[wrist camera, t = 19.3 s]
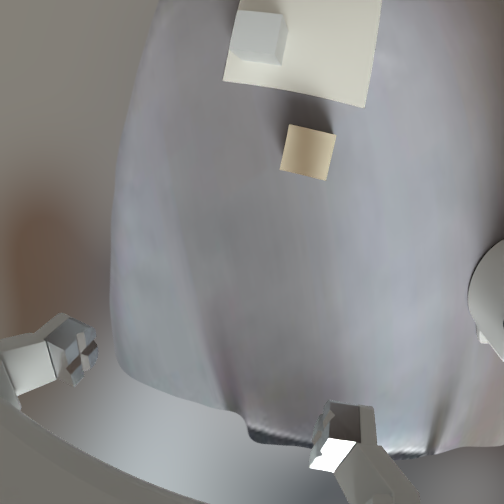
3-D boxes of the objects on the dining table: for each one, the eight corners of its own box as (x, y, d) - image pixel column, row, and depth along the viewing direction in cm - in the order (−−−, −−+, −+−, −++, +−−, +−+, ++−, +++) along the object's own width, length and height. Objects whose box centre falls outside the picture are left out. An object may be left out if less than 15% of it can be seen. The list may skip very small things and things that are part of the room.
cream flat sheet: (386, -45, 22) (386, -46, 22) (364, 108, 31) (364, 108, 31) (257, -65, 24) (257, -66, 24) (223, 81, 33) (222, 80, 33)
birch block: (333, 135, 33) (336, 135, 28) (324, 173, 35) (325, 180, 30) (293, 125, 33) (289, 124, 28) (285, 164, 35) (279, 169, 30)
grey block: (288, 30, 29) (282, 14, 24) (281, 65, 31) (274, 54, 26) (249, 26, 30) (237, 10, 25) (241, 60, 31) (228, 49, 26)
